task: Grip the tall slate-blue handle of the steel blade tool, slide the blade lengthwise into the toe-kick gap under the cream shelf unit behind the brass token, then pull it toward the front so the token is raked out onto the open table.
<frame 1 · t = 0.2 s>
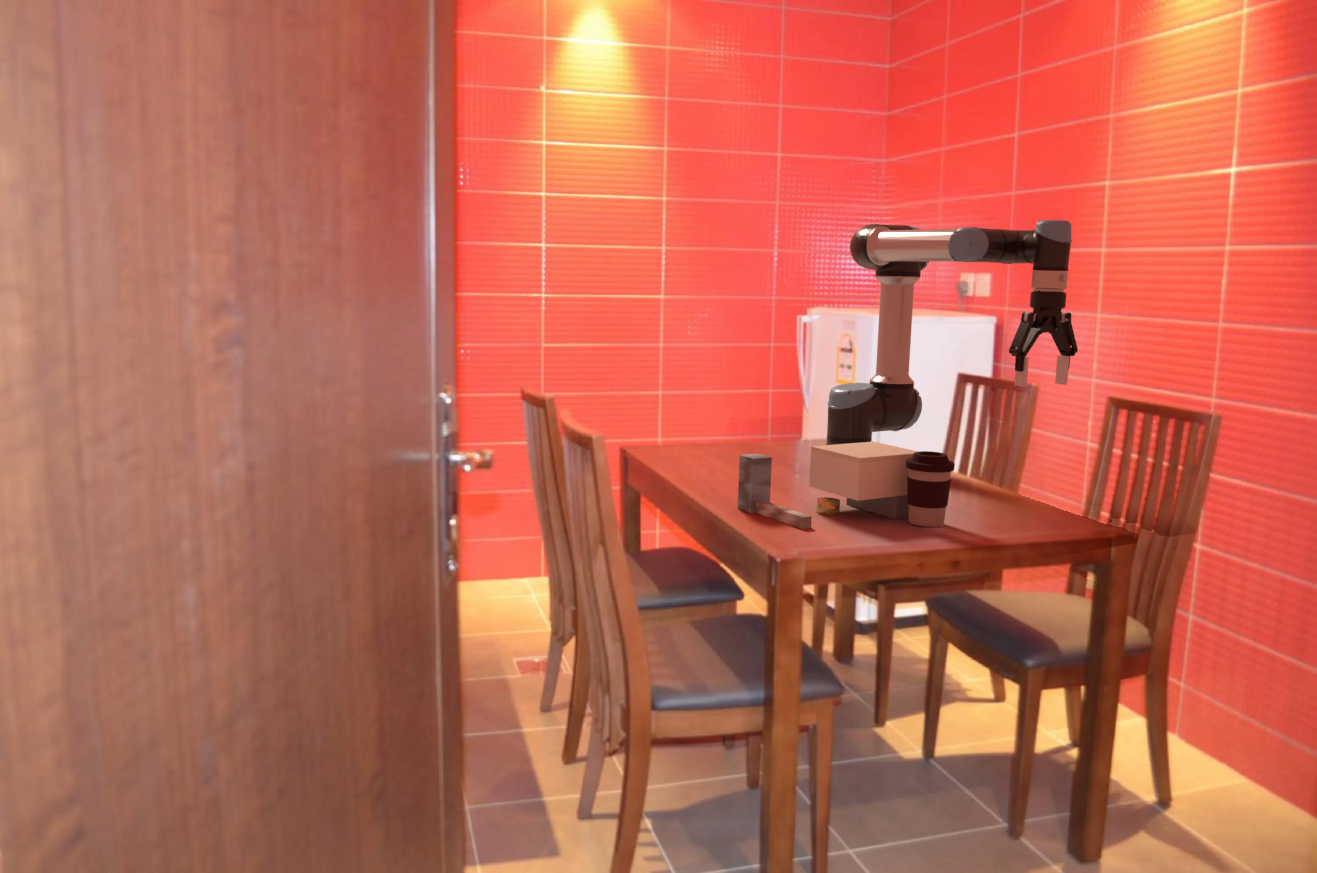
hand: (1041, 385, 239), 28 cm above the table, fingers open, 13 cm apart
shelf unit: (863, 512, 232), on the table
blade tool: (753, 509, 231), on the table
brass token: (827, 513, 231), on the table
coffee cup: (925, 524, 223), on the table
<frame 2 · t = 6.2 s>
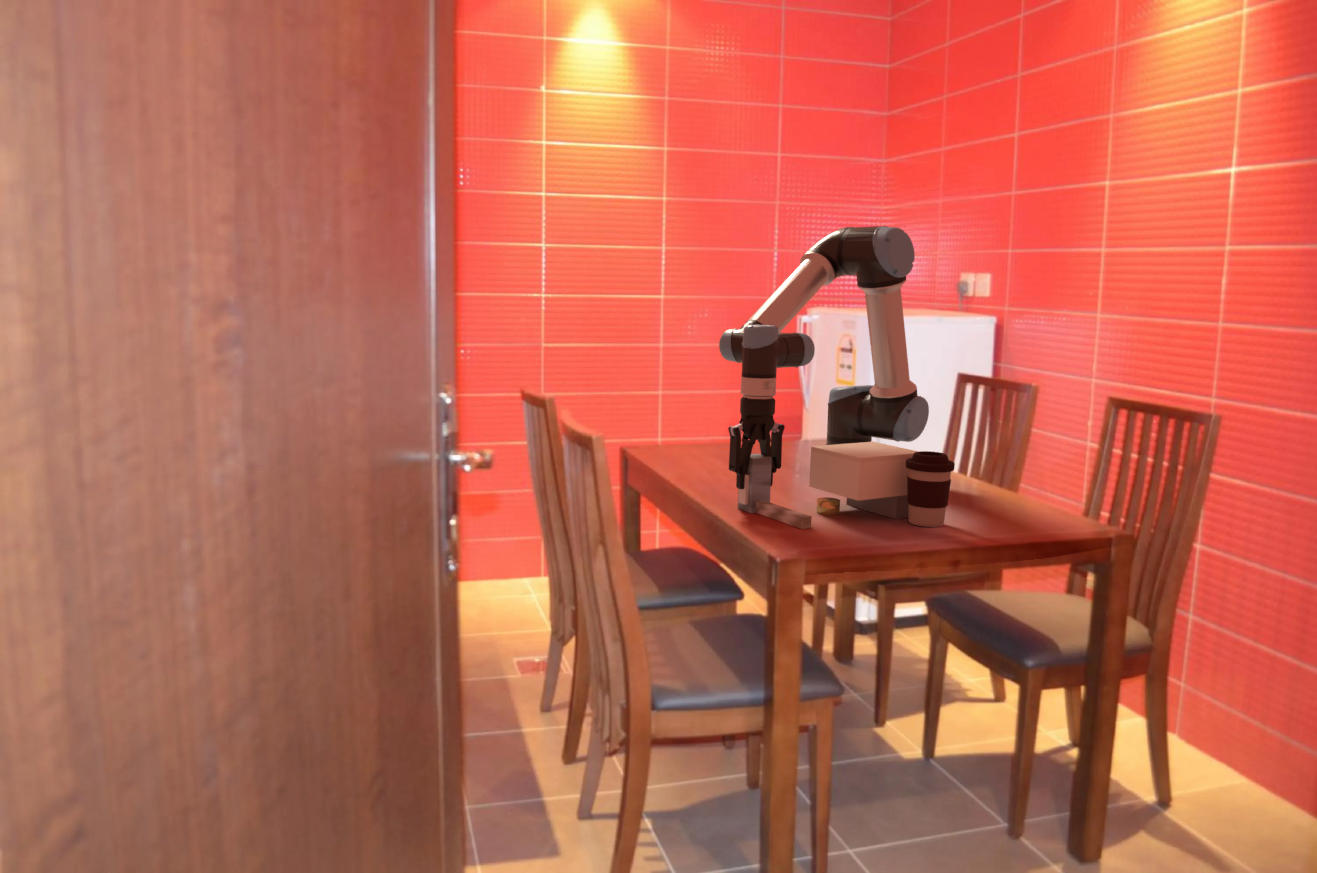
hand: (753, 501, 231), 2 cm above the table, fingers closed on blade tool, 5 cm apart
blade tool: (753, 509, 231), on the table, touching gripper
everything else where it was.
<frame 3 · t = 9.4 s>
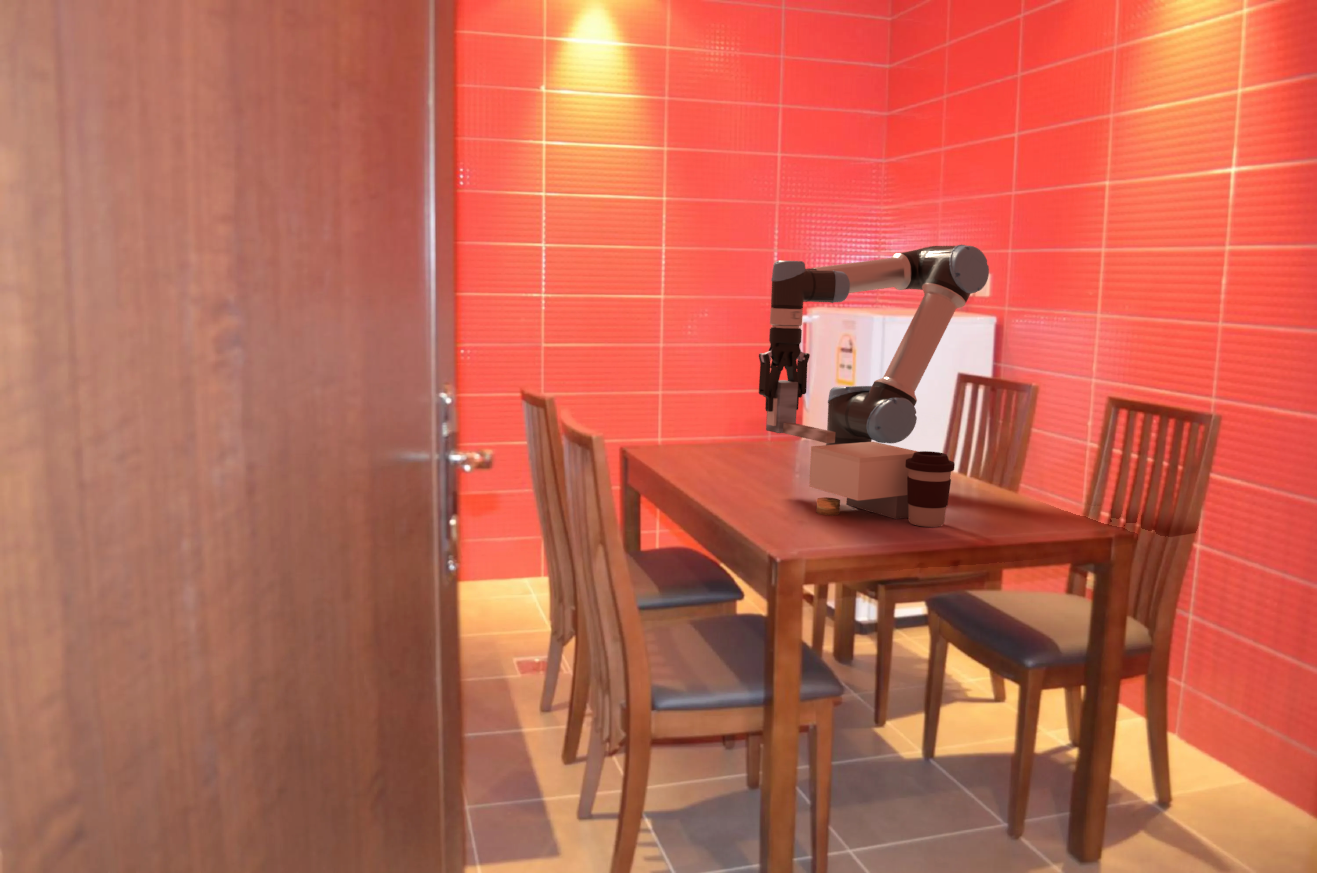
hand: (781, 424, 252), 16 cm above the table, fingers closed on blade tool, 5 cm apart
blade tool: (780, 431, 252), point 14 cm above the table, touching gripper
everything else where it was.
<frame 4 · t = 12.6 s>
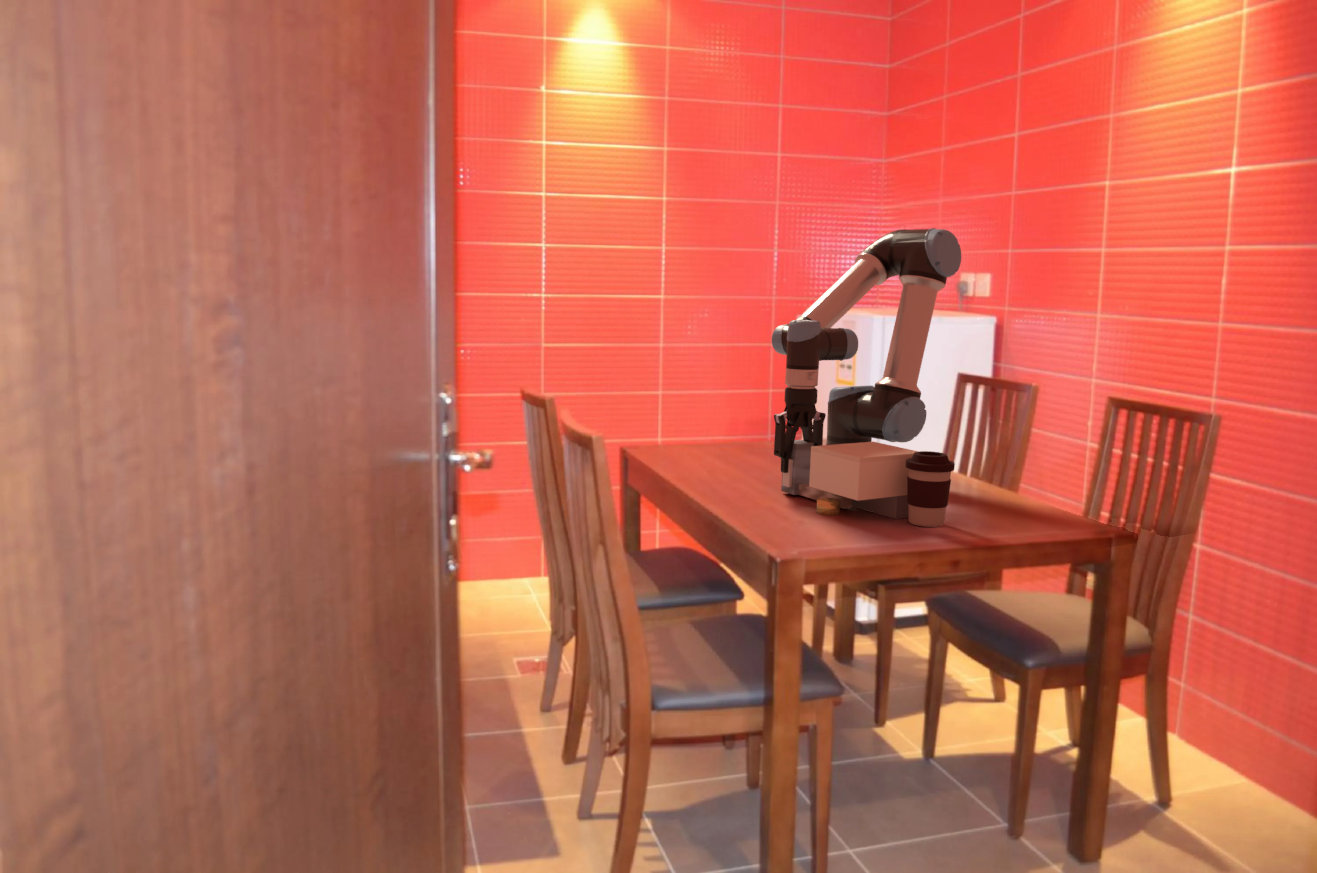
hand: (796, 485, 248), 2 cm above the table, fingers closed on blade tool, 5 cm apart
blade tool: (796, 492, 249), point 1 cm above the table, touching gripper
everything else where it was.
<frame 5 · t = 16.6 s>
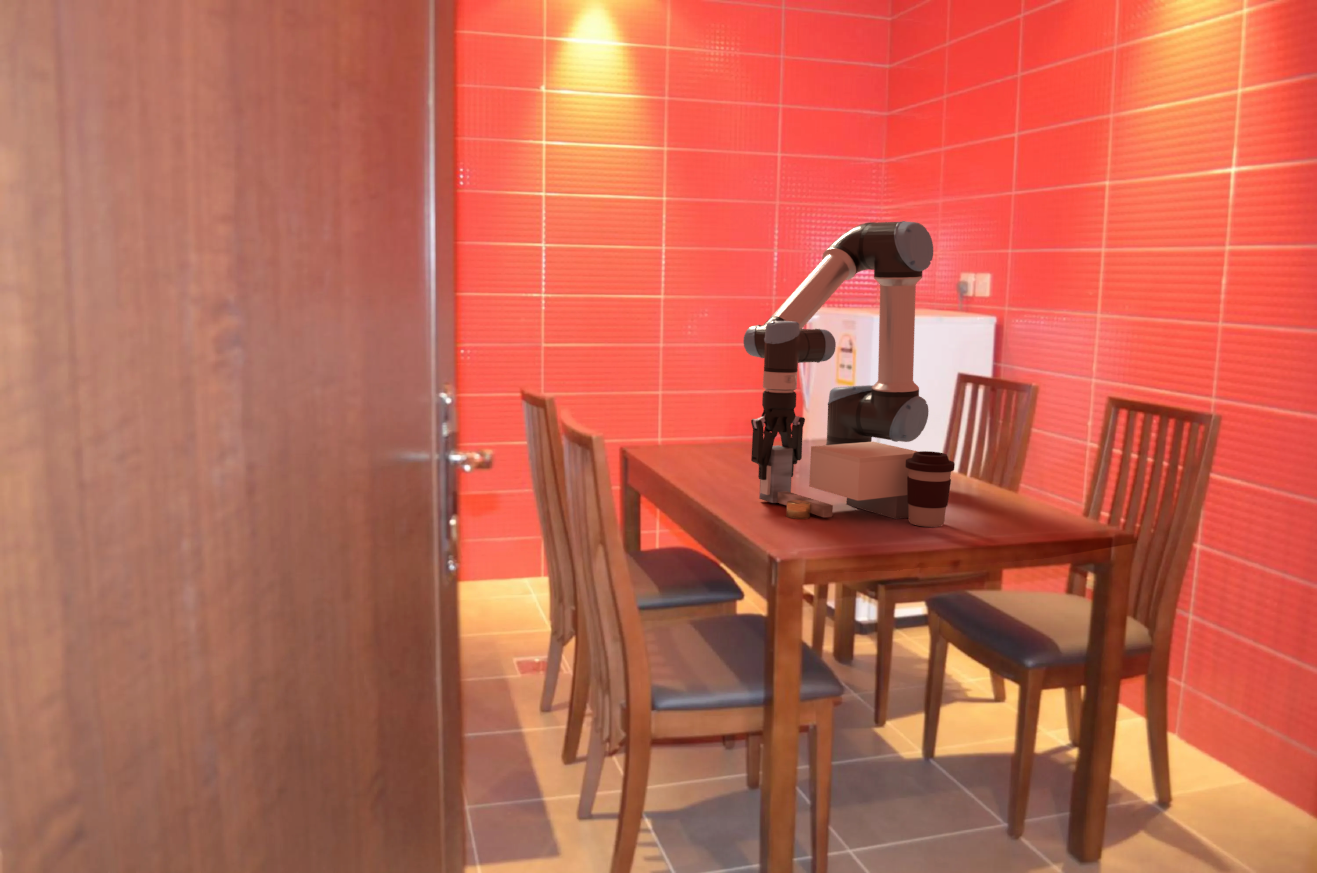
hand: (775, 492, 239), 2 cm above the table, fingers closed on blade tool, 5 cm apart
blade tool: (774, 499, 239), point 1 cm above the table, touching brass token, gripper
brass token: (798, 516, 226), on the table, touching blade tool
everything else where it was.
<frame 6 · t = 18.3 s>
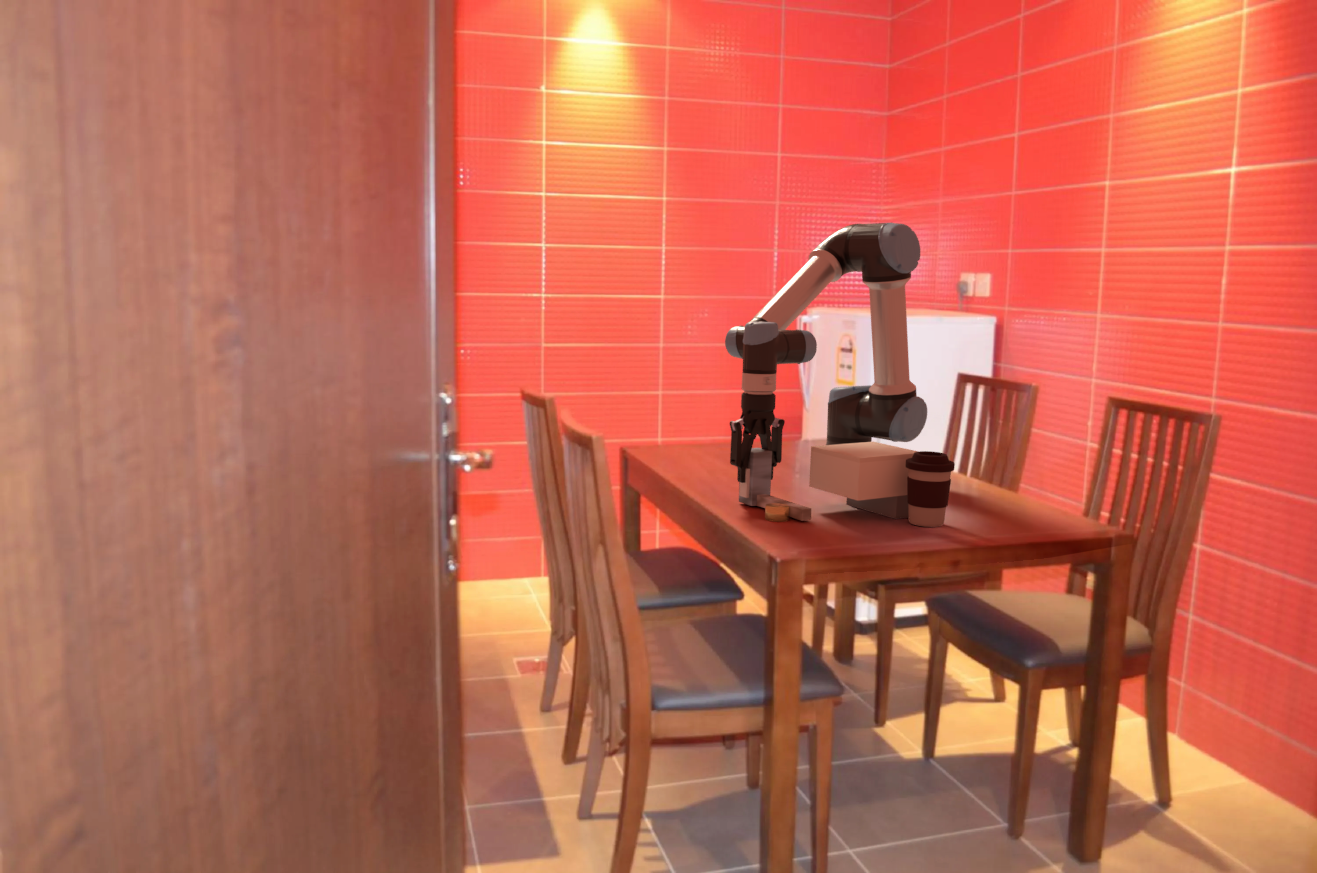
hand: (754, 495, 236), 2 cm above the table, fingers closed on blade tool, 5 cm apart
blade tool: (754, 502, 236), on the table, touching gripper
brass token: (776, 519, 223), on the table
everything else where it was.
when the fingers open (2 cm above the table, at t = 19.3 s): blade tool stays where it is, on the table.
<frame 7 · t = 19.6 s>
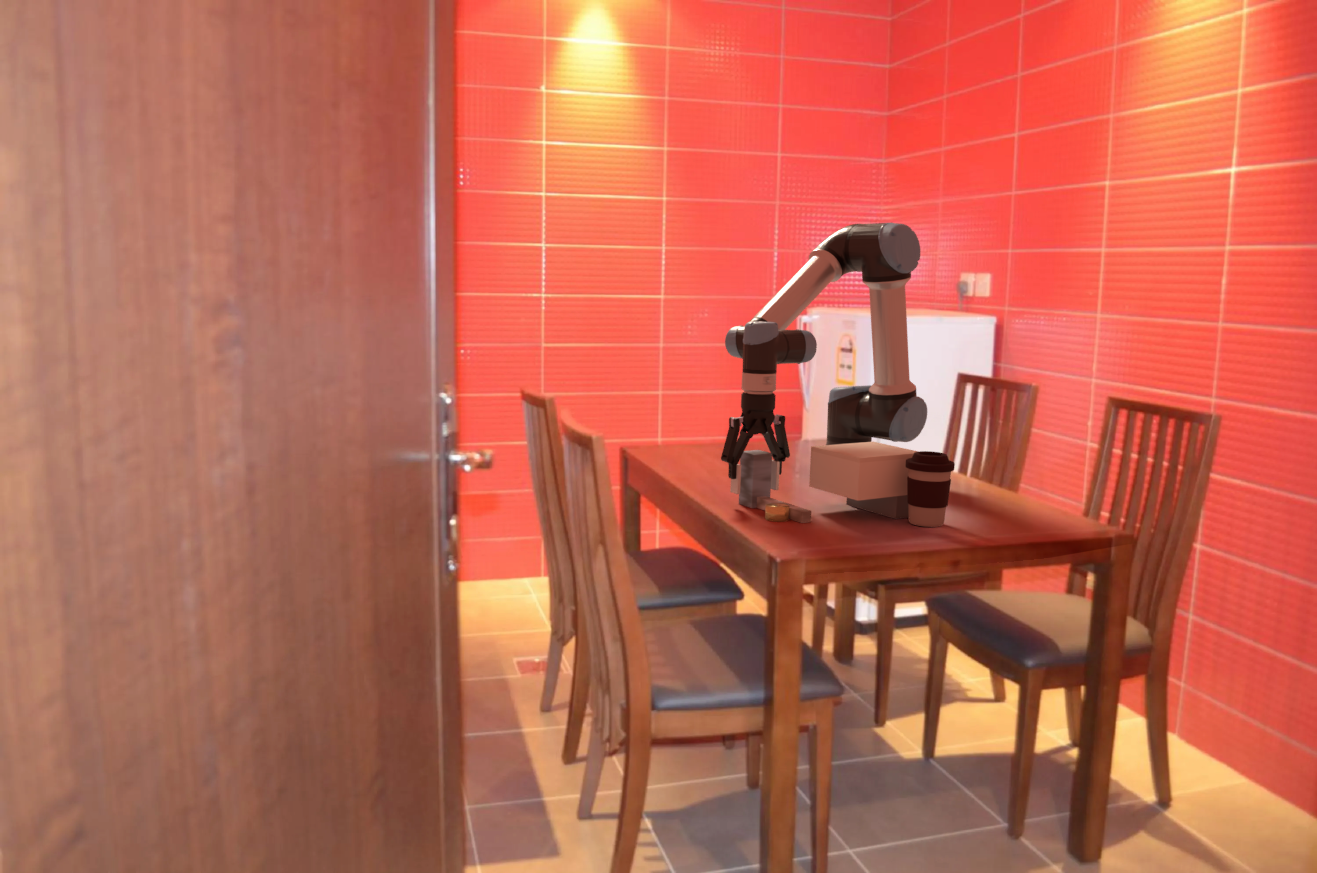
hand: (754, 491, 236), 3 cm above the table, fingers open, 10 cm apart
blade tool: (754, 505, 236), on the table
everything else where it was.
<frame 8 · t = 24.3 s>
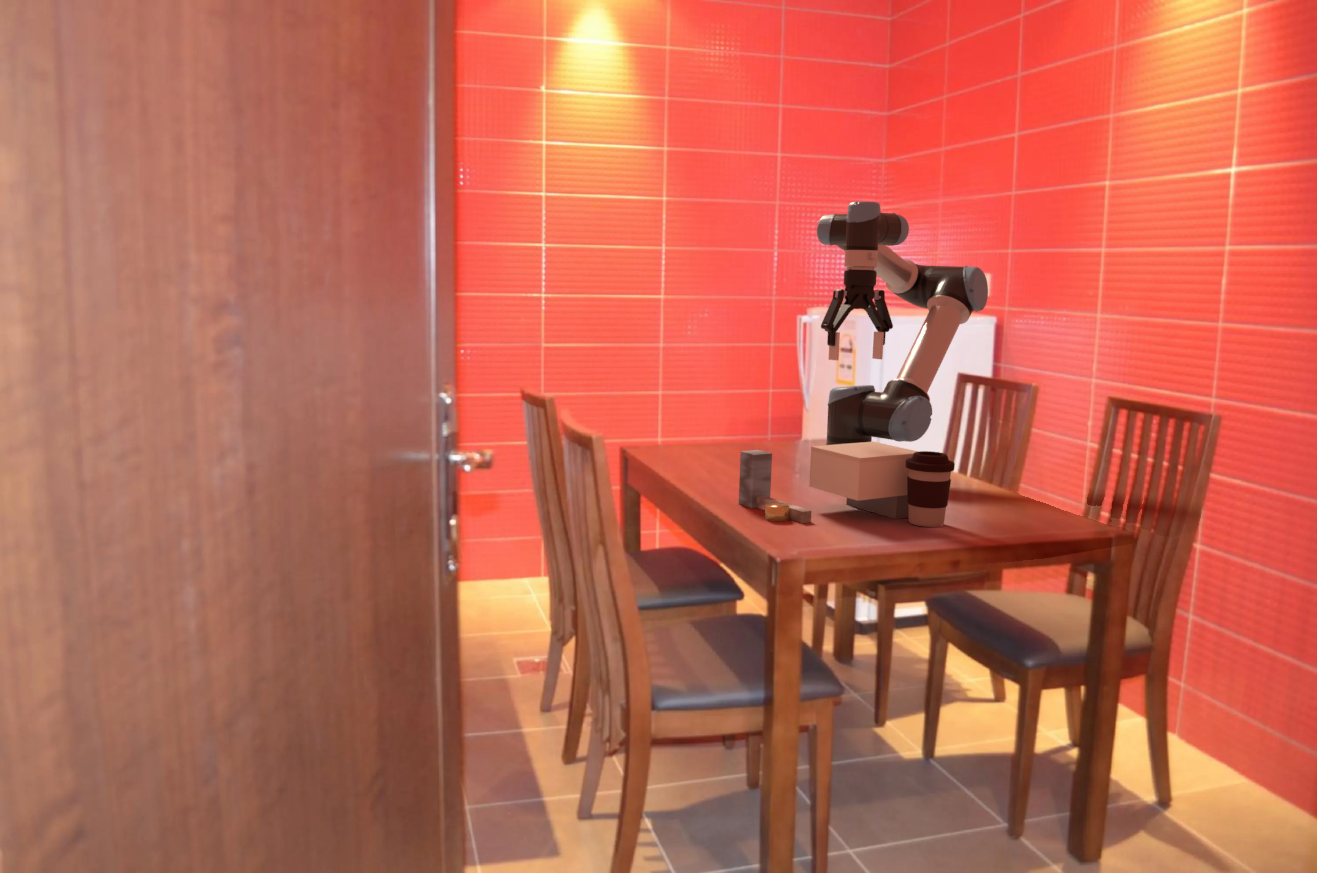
hand: (855, 359, 251), 32 cm above the table, fingers open, 13 cm apart
nothing on the table moved.
at the end: brass token inside the target area (2.6 cm from its centre), on the table; brass token moved 14.1 cm from its start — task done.
